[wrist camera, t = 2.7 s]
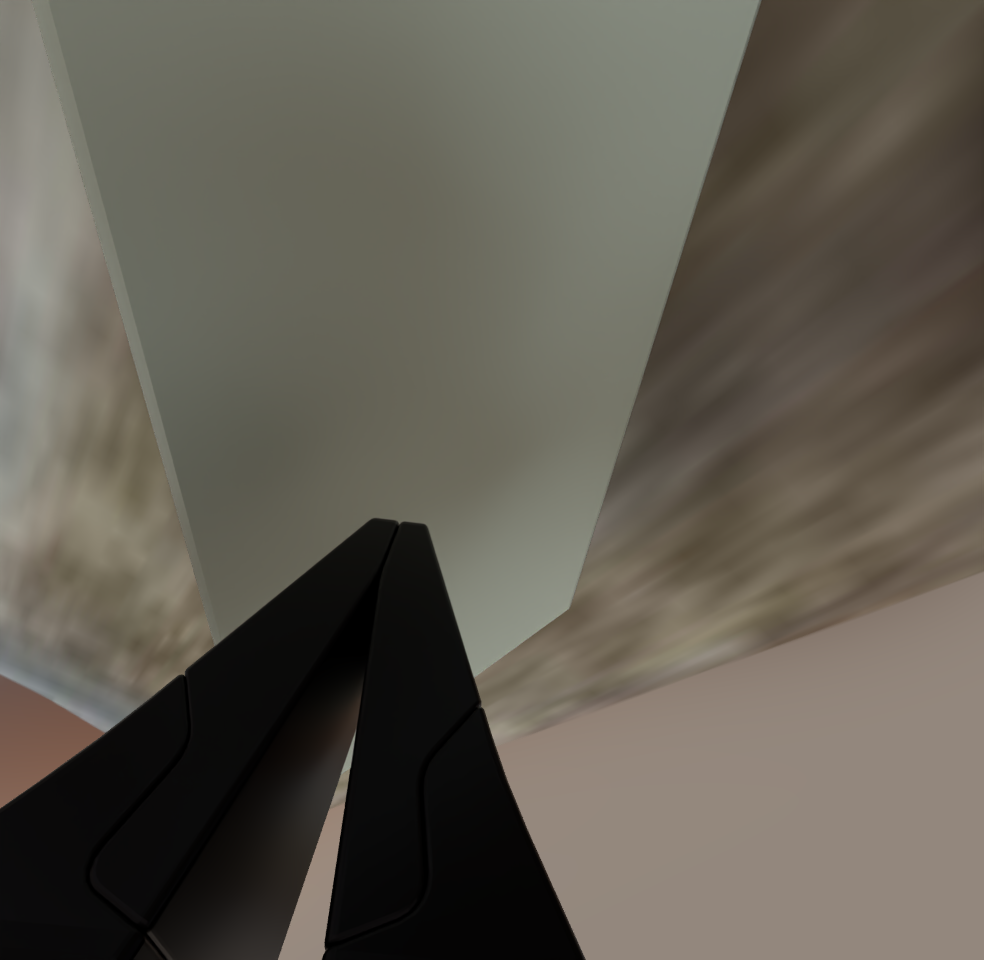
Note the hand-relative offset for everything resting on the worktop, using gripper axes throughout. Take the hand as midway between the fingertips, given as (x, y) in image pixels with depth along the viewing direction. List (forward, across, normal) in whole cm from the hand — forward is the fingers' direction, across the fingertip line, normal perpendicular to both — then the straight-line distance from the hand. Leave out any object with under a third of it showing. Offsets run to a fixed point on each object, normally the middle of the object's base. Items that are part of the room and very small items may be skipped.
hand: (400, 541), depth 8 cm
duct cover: (+5, -1, 0) cm, 5 cm away
